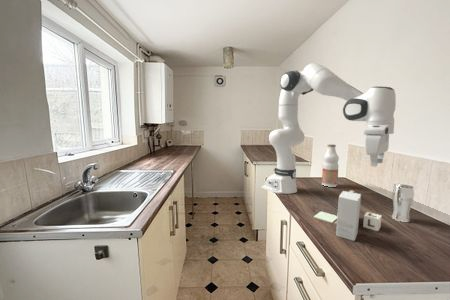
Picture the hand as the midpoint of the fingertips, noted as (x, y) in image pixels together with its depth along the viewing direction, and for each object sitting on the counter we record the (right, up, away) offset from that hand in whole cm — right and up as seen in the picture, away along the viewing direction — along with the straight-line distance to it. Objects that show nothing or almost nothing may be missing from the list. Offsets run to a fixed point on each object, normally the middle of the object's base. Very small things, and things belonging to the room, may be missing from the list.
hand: (376, 164), depth 84 cm
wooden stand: (-8, -25, +8) cm, 27 cm away
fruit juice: (+11, -19, +60) cm, 64 cm away
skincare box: (-13, -27, -3) cm, 30 cm away
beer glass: (+17, -25, +10) cm, 32 cm away
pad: (-14, -25, +12) cm, 31 cm away
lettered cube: (0, -26, +3) cm, 26 cm away
